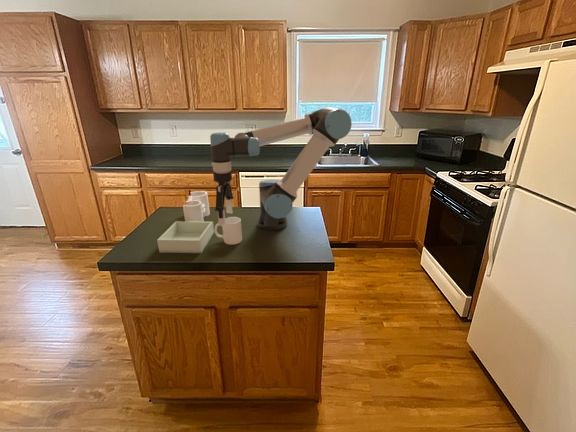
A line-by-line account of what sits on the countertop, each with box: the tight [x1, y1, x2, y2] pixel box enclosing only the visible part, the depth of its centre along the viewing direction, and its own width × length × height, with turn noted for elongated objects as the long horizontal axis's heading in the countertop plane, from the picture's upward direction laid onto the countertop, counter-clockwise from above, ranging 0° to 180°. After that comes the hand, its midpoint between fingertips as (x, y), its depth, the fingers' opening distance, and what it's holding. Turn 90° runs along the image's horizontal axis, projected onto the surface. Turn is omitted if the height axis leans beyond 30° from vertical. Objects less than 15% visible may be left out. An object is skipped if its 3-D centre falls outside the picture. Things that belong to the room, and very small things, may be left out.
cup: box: [214, 216, 243, 245], centre depth 138 cm, size 8×12×10 cm
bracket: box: [182, 190, 211, 222], centre depth 162 cm, size 25×10×12 cm, turn 5°
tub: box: [156, 220, 215, 254], centre depth 138 cm, size 18×20×6 cm
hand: (226, 218), depth 136 cm, fingers open, 13 cm apart
